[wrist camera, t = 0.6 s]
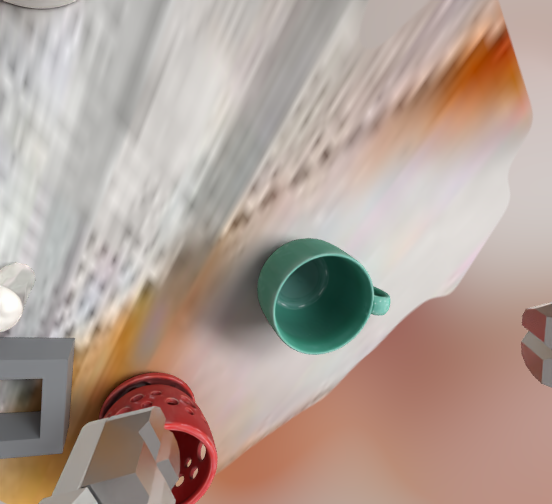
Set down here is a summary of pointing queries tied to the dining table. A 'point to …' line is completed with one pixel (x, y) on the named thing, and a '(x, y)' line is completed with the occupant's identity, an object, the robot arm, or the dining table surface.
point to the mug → (317, 296)
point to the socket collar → (55, 395)
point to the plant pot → (172, 426)
